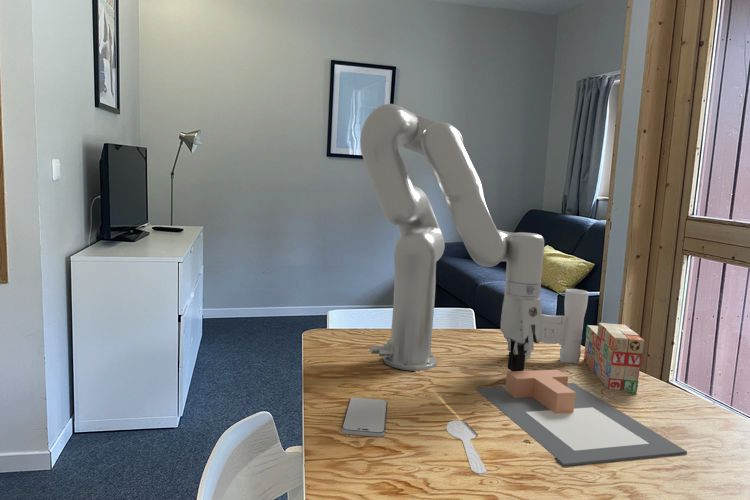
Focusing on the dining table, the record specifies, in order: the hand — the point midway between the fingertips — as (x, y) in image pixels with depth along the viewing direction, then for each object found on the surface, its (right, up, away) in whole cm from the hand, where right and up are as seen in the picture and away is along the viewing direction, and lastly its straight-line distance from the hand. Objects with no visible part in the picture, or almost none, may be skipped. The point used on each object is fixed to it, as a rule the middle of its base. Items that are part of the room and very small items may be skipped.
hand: (515, 369), depth 123 cm
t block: (+3, -4, -12) cm, 13 cm away
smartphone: (-33, -4, -24) cm, 41 cm away
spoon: (-16, -6, -32) cm, 36 cm away
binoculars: (+12, -1, +16) cm, 20 cm away
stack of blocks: (+23, -3, +7) cm, 25 cm away
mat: (+5, -5, -19) cm, 20 cm away
